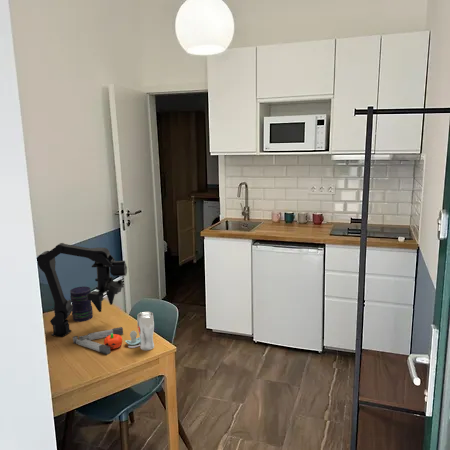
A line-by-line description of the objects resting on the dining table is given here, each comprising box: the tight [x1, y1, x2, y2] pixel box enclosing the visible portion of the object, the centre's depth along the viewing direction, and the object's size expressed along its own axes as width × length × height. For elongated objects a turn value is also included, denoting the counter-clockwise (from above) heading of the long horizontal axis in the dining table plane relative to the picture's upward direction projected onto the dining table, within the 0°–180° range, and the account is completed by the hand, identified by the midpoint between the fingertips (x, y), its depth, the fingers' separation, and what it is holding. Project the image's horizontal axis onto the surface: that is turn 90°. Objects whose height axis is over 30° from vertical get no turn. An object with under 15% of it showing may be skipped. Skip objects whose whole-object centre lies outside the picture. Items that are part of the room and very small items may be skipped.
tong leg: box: [78, 326, 124, 341], centre depth 188 cm, size 19×2×3 cm, turn 113°
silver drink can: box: [136, 311, 155, 351], centre depth 177 cm, size 7×7×15 cm
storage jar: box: [69, 286, 94, 323], centre depth 208 cm, size 10×10×15 cm
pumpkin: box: [103, 334, 123, 350], centre depth 179 cm, size 7×8×6 cm
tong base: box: [72, 335, 111, 356], centre depth 178 cm, size 22×2×3 cm, turn 59°
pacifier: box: [125, 330, 141, 349], centre depth 180 cm, size 7×6×6 cm
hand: (105, 308), depth 191 cm, fingers open, 9 cm apart
